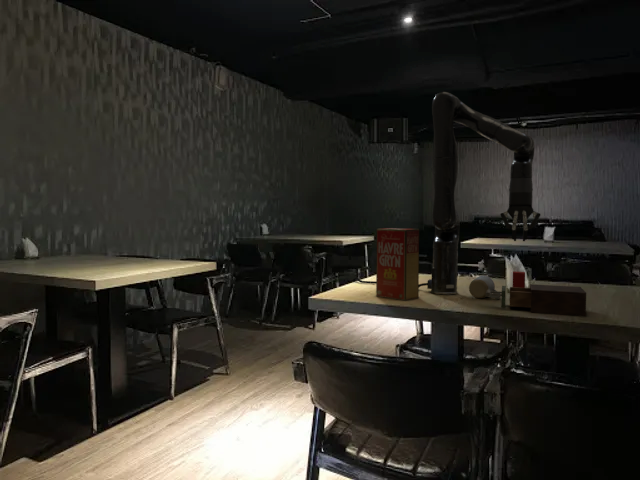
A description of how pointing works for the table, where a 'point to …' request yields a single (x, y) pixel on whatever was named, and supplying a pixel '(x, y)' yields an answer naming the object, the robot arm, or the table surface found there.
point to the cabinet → (558, 300)
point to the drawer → (514, 296)
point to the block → (518, 279)
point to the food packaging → (397, 263)
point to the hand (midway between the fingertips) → (519, 240)
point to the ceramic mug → (482, 287)
